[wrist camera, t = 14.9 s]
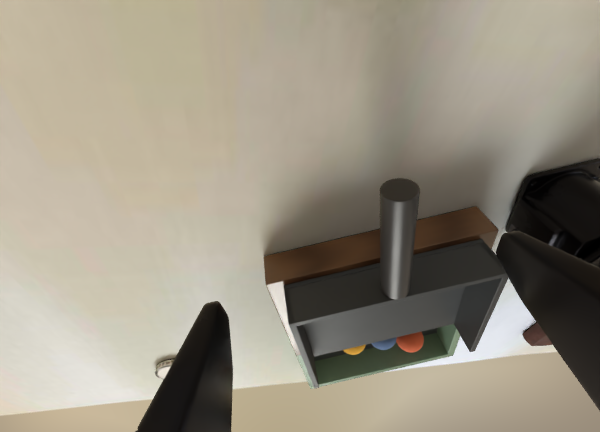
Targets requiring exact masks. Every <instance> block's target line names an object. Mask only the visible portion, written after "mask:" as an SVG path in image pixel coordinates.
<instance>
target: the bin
mask: <svg viewBox="0 0 600 432" xmlns="http://www.w3.org/2000/svg"><path fill="white" fill-rule="evenodd" d="M421 332H422V334H423V337H424V343H423V346H422V347H421V349H420V350H418V351H417V352H412V353H410V352H406V351H404V350H402V349H401V348H400V347H399V346H398V344H397V342H395V344H394V346H393V347H391V348H390V349H387V350H380V349H377V348H376V347H374V346H373V345H372V344H371V343H370V344H366V346H365V348H364V350H363V351H362V352H360V353H359V354H355V355H351V354H347V353H345V352H344V351H343V350H341V351H336V352H332V353H328V354H323V355H319V356H315V357H314V361H315V366H316V372H317V377H318V383H319V387H321V386H325V385H329V384H333V383H338V382H342V381H346V380H350V379H355V378H359V377H363V376H367V375H372V374H376V373H380V372H385V371H389V370H393V369H397V368H402V367H406V366H410V365H415V364H419V363H423V362H427V361H432V360H436V359H440V358H444V357H449V356H453V354H454V351H455V348H456V346H457V343H458V340H459V337H460V334H459V332H458V330H457V329H456V327H455V325H454V324H451V325H447V326H443V327H438V328H434V329H430V330H426V331H421ZM296 356H297V355H296ZM297 358H298V361H299V363H300V365H301V368H302V370H303V372H304V374H305V377H306V379H307V381H308V383H309V386H310V388H311V389H312V388H314V386H313V384H312V381H311V379H310V376H309V374H308V371H307V369H306V366H305V364H304V361H303V359H302V356H301V355H298V356H297Z"/></svg>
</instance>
